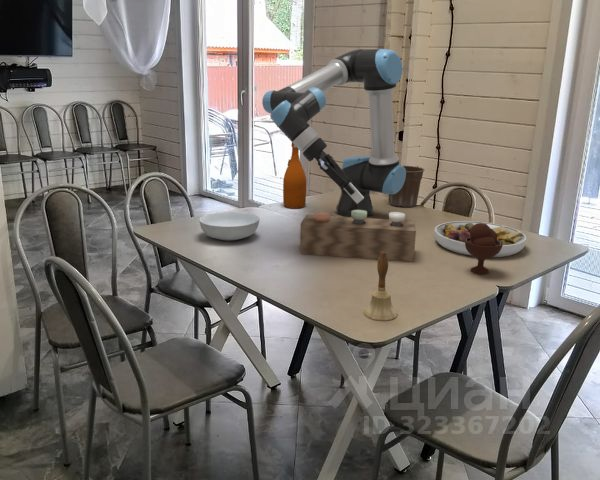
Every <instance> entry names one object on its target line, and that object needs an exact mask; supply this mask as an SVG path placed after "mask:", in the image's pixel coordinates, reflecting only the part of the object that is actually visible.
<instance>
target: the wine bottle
mask: <svg viewBox="0 0 600 480" xmlns="http://www.w3.org/2000/svg"><path fill="white" fill-rule="evenodd" d="M294 145H295V144H293V143H292V142H291V145H290V146H291V148H292V149H291V156H290V159H288V161H287V167H286V169H285V172H284V176H283V181H282V182H283V185H282V193H283V194H282V195H283V196H282V198H283V199H282V200H283V206H284V207H285V208H288V209H289V208H290V209H302V208H304V207H305V206H306V202H307V176H306V173H305V170H304V167H303V165H302V163H301V159H300V156H299V155H300V154H299V152H300V150H299V149H298V148H297V147H296V148H295V147H294Z"/></svg>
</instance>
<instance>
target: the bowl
mask: <svg viewBox="0 0 600 480" xmlns="http://www.w3.org/2000/svg"><path fill="white" fill-rule="evenodd" d="M478 223H483V224H487V225H488V226H489V227H490V228H491V229H493V230H494V231H495V232H496V233H497V240H500V241H502V244H503V246H502V248H501V250H500V252H499V253H498V254H497V255H495V256H494V257H493V258H505V257H510V256H513V255H516V254H518V253H519V252H521V251H522V250H523V249H524V248H525V246H526V243H527V235H526V234H525V233H524V232H522V231H520V230H519V229H516V228H513V227H509V226H507V225H502V224H498V223H493V222H486V221H476V220H475V221H473V220H458V221H457V220H456V221H455V220H454V221H447V222H442V223H440V224H438V225H436V226H435V227H434V238H435V239H436V242H437V243H438V244H439V245H440V246H441V247H443V248H445V249H446V250H448V251H451V252H454V253H456V254H461V255H464V256H471V257H473V256H472V255H471V254H470V253H469V252H468V251H467V249H466V247H465V238H467V237H470V233H469V231H470V229H471V227H472V226H474V225H475V224H478Z"/></svg>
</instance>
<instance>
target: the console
mask: <svg viewBox="0 0 600 480" xmlns="http://www.w3.org/2000/svg"><path fill="white" fill-rule="evenodd" d="M416 229H417V227H416V221H415V220H406V219H405V221H403V222H401V227H400V226H392V221H390V220H389V218H388V219H384V218H371V217H370V218H369V217H367V219H364V224H354V219H353V218H351V217H350V216H337V215H336V216H334V215H330V220H329V221H328V222H316V221H314V214H306V215H304V218H303V219H302V221H301V223H300V231H299V232H300V233H299V234H300V237H299V239H300V241H299V242H300V243H299V244H300V246H299V252H300V253H299V254H300V255H312V256H313V255H315V256H326V257H327V256H329V257H338V258H339V257H340V258H341V257H343V258H355V259H356V258H357V259H371V260H372V259H373V260H378V259H379V256H380V253H381V252H386V255H387V259H388V261H395V262H396V261H398V262H399V261H400V262H412V263H413V262H414V261H415V260H414V259H415V247H416V246H415V245H416V236H417V230H416Z"/></svg>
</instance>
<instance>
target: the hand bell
mask: <svg viewBox="0 0 600 480" xmlns="http://www.w3.org/2000/svg"><path fill="white" fill-rule="evenodd" d="M376 267H377V273H378V285H377V288H378V289H377V290H374V291H373V292H372V294H371V298H370V302H369V305H368V306H367V307H366V308H364V310H363V314H364V315H363V316H364V317H366V318H368V319H371V320H373V321H379V322H380V321H383V322H384V321H391V320H394V319H396V318H397V317H398V312H397V309H395V308H394V307H393V304H392V299H391V293H390V292H389V291H387V290H386V276H387V273H388V269H389V260H388V259H387V255H386V252H381V253H380V256H379V259H377V265H376Z"/></svg>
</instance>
